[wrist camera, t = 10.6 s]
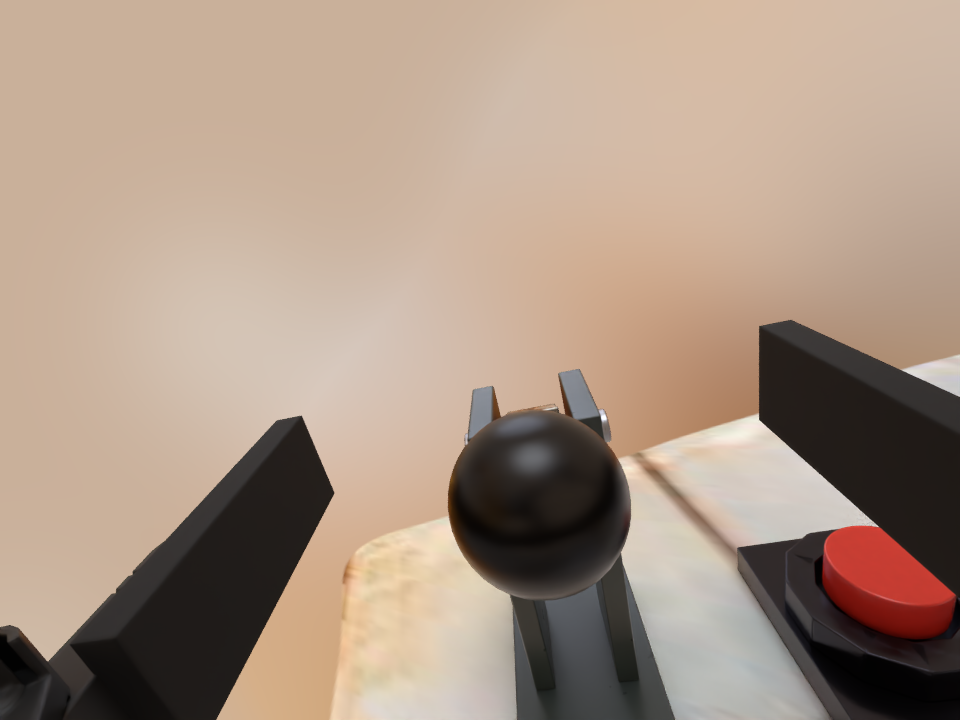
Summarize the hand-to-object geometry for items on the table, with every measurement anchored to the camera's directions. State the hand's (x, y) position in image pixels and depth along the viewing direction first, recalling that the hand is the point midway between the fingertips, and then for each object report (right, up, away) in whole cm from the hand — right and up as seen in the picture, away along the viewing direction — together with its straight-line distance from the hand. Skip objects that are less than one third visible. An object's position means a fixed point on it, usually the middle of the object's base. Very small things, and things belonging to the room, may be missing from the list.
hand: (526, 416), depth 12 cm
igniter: (+17, -9, +8) cm, 21 cm away
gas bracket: (+4, -15, +12) cm, 19 cm away
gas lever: (+1, -3, +1) cm, 4 cm away
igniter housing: (+18, -12, +9) cm, 24 cm away
